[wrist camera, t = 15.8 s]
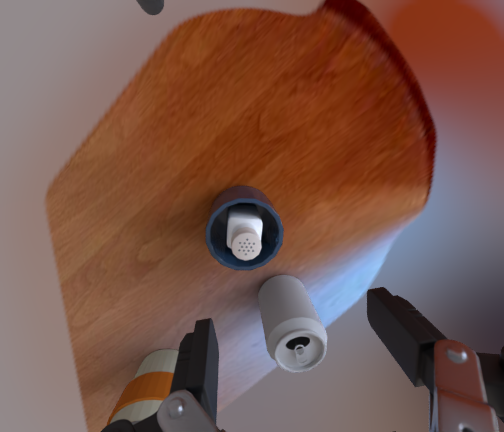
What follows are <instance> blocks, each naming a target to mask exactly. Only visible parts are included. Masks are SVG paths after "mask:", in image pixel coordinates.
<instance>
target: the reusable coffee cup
mask: <svg viewBox="0 0 504 432" xmlns="http://www.w3.org/2000/svg"><path fill="white" fill-rule="evenodd" d="M178 352H179V351H178V350H173V349H162V350H158V351H155V352H153V353H151V354H149V355H148V356H147V357H146V358H145V359H144V360H143V362H142V364H141V366H140V367H139V369H138V371H137V373H136V375H135V377H134V379H133V380H132V381H131V382H130V383H129V384H128V385H127V387H126V388H125V390H124V391H123V393H122V395H121V397H120V399H119V401H118V402H117V404H116V406H115V408H114V410H113V412H112V414H111V415H110V417H109V420H108V422H107V425H109V424H110V423H112V422H114V421H116V420H120V419H127V420H129V421H130V422H131V423H132V424H133V425H134V424H136V423H138V422H140V421H142V420H143V419H145V418H147V417H149V416H151V415H153V414H154V413H155V412H157V411H158V409H159V406H160V404H161V403H162V402H163V400H164V399H165V398H166V397H167V396H168V395H169V392H170V388H171V383H172V379H173V374H174V370H175V365H176V362H177V356H178V354H179V353H178Z"/></svg>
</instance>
